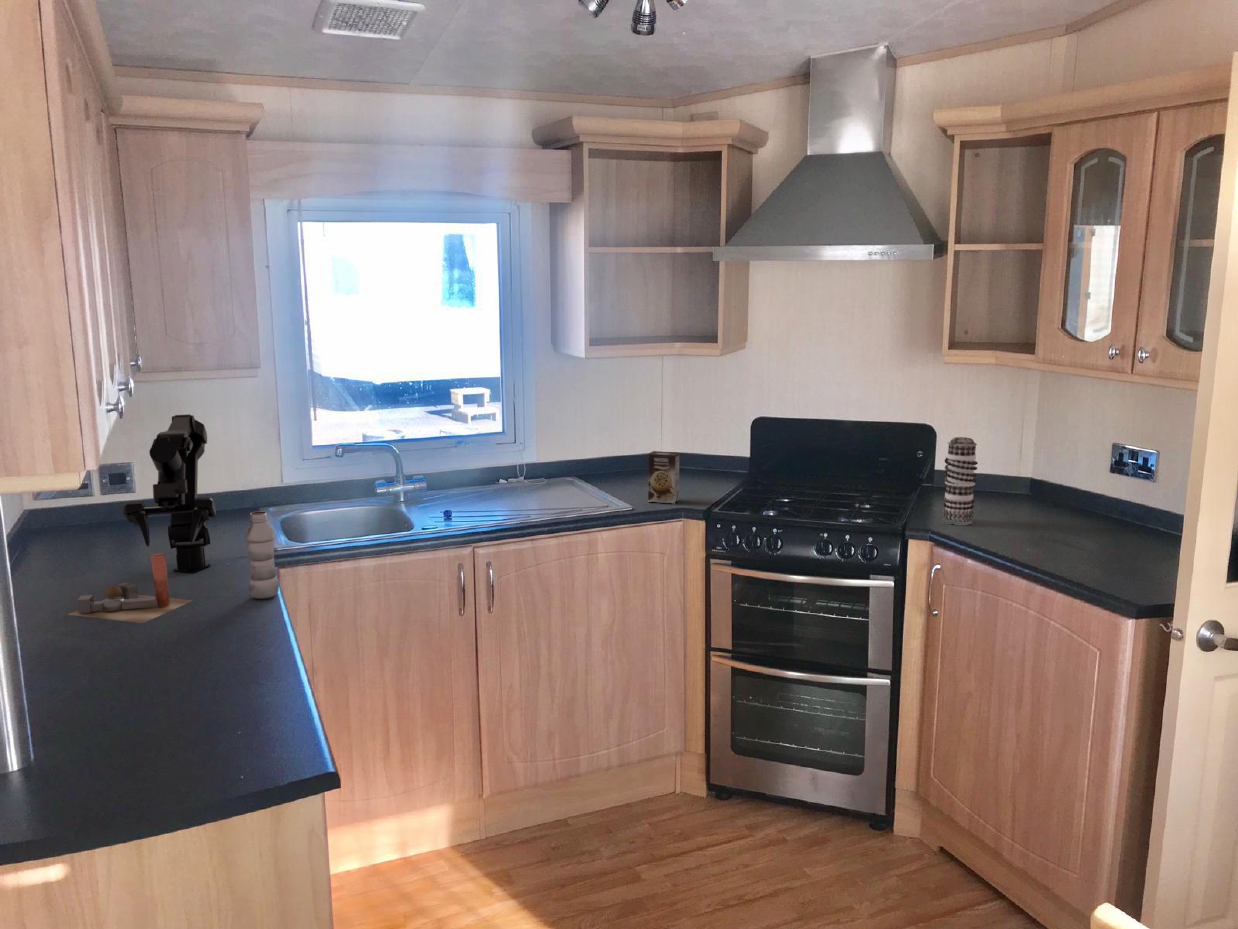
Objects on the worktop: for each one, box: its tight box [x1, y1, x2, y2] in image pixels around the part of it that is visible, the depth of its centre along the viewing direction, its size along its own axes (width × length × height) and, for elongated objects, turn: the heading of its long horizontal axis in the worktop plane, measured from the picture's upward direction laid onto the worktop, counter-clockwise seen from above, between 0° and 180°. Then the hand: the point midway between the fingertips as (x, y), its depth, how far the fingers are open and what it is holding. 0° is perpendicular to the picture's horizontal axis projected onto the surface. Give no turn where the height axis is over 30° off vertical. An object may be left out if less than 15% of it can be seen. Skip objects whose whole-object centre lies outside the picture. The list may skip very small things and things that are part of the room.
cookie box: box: [647, 450, 681, 503], centre depth 317 cm, size 9×6×16 cm
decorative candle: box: [942, 436, 978, 522], centre depth 287 cm, size 9×9×25 cm
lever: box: [76, 552, 170, 613], centre depth 215 cm, size 18×4×11 cm, turn 103°
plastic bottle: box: [244, 510, 280, 600], centre depth 226 cm, size 6×7×20 cm
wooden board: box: [67, 582, 193, 624], centre depth 217 cm, size 15×20×4 cm
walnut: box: [104, 585, 123, 599], centre depth 221 cm, size 4×4×4 cm
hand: (169, 544), depth 222 cm, fingers open, 9 cm apart
